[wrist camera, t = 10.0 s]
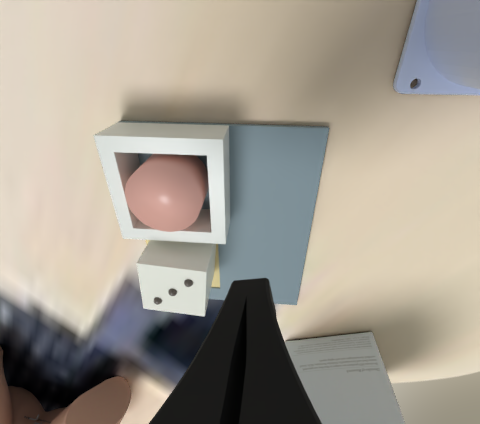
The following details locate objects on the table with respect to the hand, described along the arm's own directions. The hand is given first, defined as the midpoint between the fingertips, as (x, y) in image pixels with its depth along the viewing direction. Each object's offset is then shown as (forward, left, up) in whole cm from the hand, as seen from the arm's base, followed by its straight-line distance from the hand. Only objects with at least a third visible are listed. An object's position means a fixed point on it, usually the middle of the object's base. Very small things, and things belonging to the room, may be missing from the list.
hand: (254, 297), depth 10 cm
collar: (+5, 0, -10) cm, 11 cm away
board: (+2, +4, -10) cm, 11 cm away
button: (+6, -1, -9) cm, 11 cm away
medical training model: (+28, +36, -10) cm, 47 cm away
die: (+5, +6, -10) cm, 13 cm away
